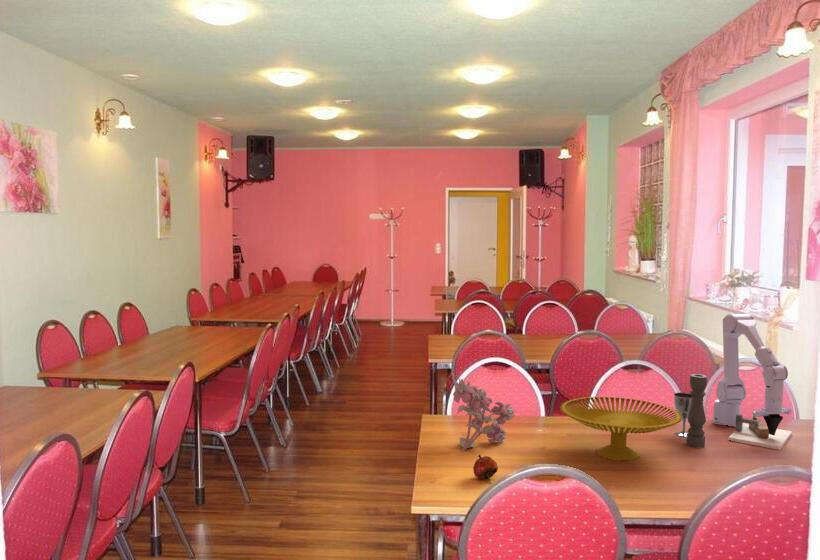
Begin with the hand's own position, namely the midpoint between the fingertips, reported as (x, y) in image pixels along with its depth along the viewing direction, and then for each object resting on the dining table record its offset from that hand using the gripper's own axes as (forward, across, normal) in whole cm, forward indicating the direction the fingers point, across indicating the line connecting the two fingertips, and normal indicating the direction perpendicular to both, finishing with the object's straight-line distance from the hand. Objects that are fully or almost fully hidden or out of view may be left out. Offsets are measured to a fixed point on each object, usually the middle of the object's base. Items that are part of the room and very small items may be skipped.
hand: (771, 434), depth 259 cm
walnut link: (+1, 0, +6) cm, 6 cm away
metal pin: (-2, +3, +11) cm, 12 cm away
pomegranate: (+3, -116, -5) cm, 116 cm away
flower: (+3, -102, +26) cm, 105 cm away
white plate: (+2, 0, +4) cm, 5 cm away
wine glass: (+3, -26, +16) cm, 30 cm away
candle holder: (+3, -30, +4) cm, 30 cm away
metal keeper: (+1, -4, +8) cm, 9 cm away
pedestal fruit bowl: (+3, -62, +4) cm, 63 cm away
